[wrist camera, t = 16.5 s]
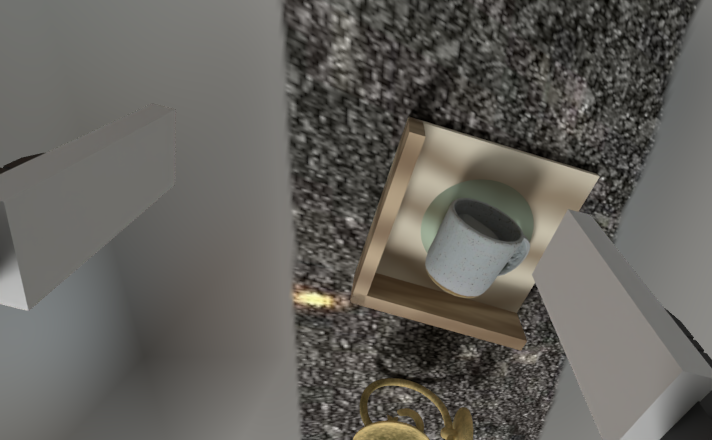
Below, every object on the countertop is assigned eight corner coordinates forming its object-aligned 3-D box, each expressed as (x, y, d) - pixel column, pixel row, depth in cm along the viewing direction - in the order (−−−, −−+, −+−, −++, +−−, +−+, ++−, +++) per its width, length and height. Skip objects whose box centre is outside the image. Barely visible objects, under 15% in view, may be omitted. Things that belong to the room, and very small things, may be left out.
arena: (408, 116, 42) (409, 131, 37) (596, 173, 43) (621, 195, 38) (354, 273, 51) (350, 302, 46) (509, 317, 52) (520, 350, 47)
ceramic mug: (418, 251, 48) (423, 293, 41) (447, 189, 44) (457, 224, 37) (504, 278, 49) (522, 324, 42) (540, 219, 45) (567, 259, 38)
